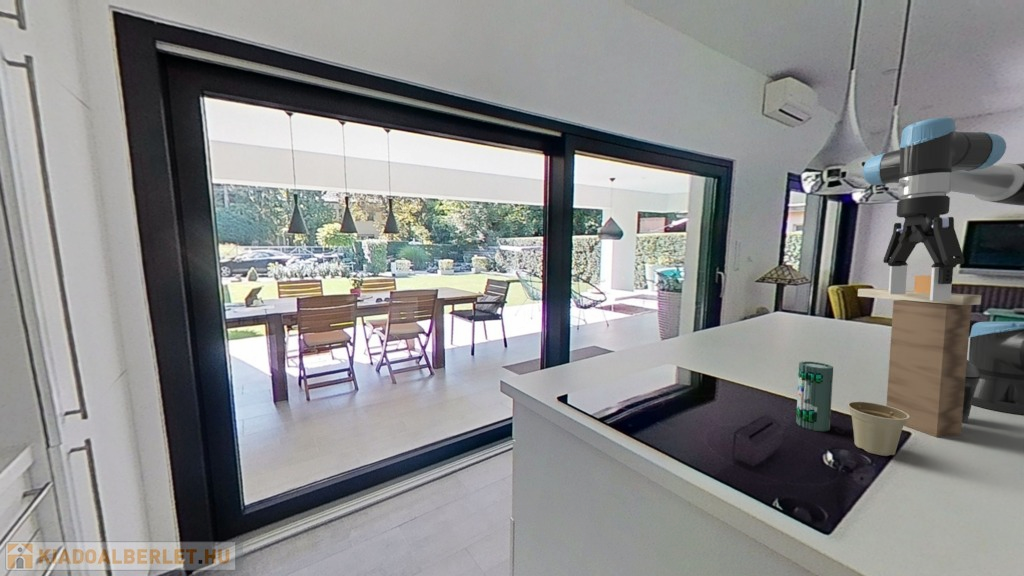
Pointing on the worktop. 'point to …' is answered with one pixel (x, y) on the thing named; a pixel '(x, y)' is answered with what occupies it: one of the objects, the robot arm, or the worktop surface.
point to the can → (814, 396)
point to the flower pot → (877, 427)
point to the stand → (929, 364)
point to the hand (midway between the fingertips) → (916, 297)
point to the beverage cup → (969, 389)
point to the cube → (922, 284)
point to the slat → (920, 297)
